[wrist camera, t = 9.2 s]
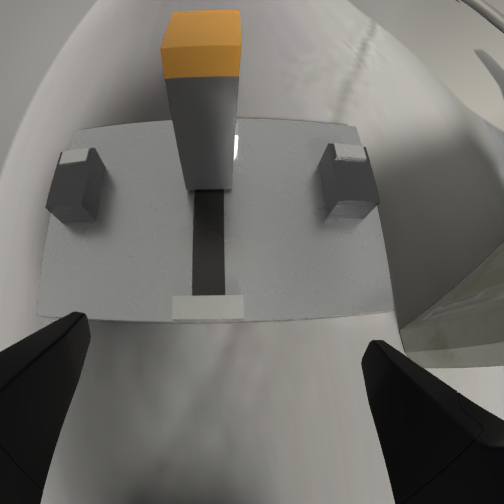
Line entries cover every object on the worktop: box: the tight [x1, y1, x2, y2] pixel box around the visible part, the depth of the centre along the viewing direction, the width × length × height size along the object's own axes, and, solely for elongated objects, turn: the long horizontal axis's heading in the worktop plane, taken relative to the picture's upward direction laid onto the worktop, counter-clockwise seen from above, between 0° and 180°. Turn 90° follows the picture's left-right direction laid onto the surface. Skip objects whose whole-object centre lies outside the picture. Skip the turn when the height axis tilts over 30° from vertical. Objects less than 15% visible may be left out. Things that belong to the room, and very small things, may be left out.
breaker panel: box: [37, 118, 394, 323], centre depth 17 cm, size 14×22×4 cm, turn 92°
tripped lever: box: [160, 10, 241, 190], centre depth 14 cm, size 3×3×10 cm
